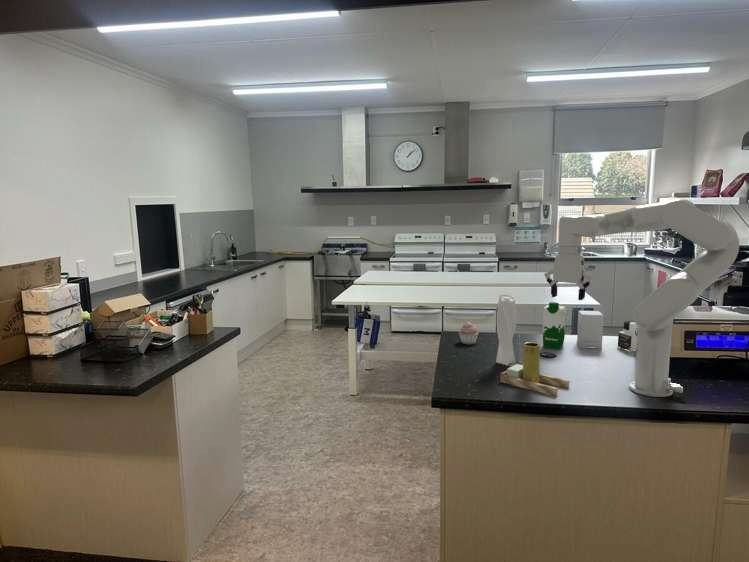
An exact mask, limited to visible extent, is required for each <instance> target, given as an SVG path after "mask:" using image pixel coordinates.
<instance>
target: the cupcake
mask: <svg viewBox="0 0 749 562" xmlns="http://www.w3.org/2000/svg"><path fill="white" fill-rule="evenodd" d="M475 325H476V324H475ZM475 325H474V324H473V323H471V321H467V322H465V323H464V324H463V325H462V326H461V328H460V330H459V332H458V336H459V337H460V340H461V341H460V342H461V343H462V344H464V345H474V344H476V342H477V338H478V335H479V334H480V332H479V331H478V330H477V327H476V326H475Z"/></svg>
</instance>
